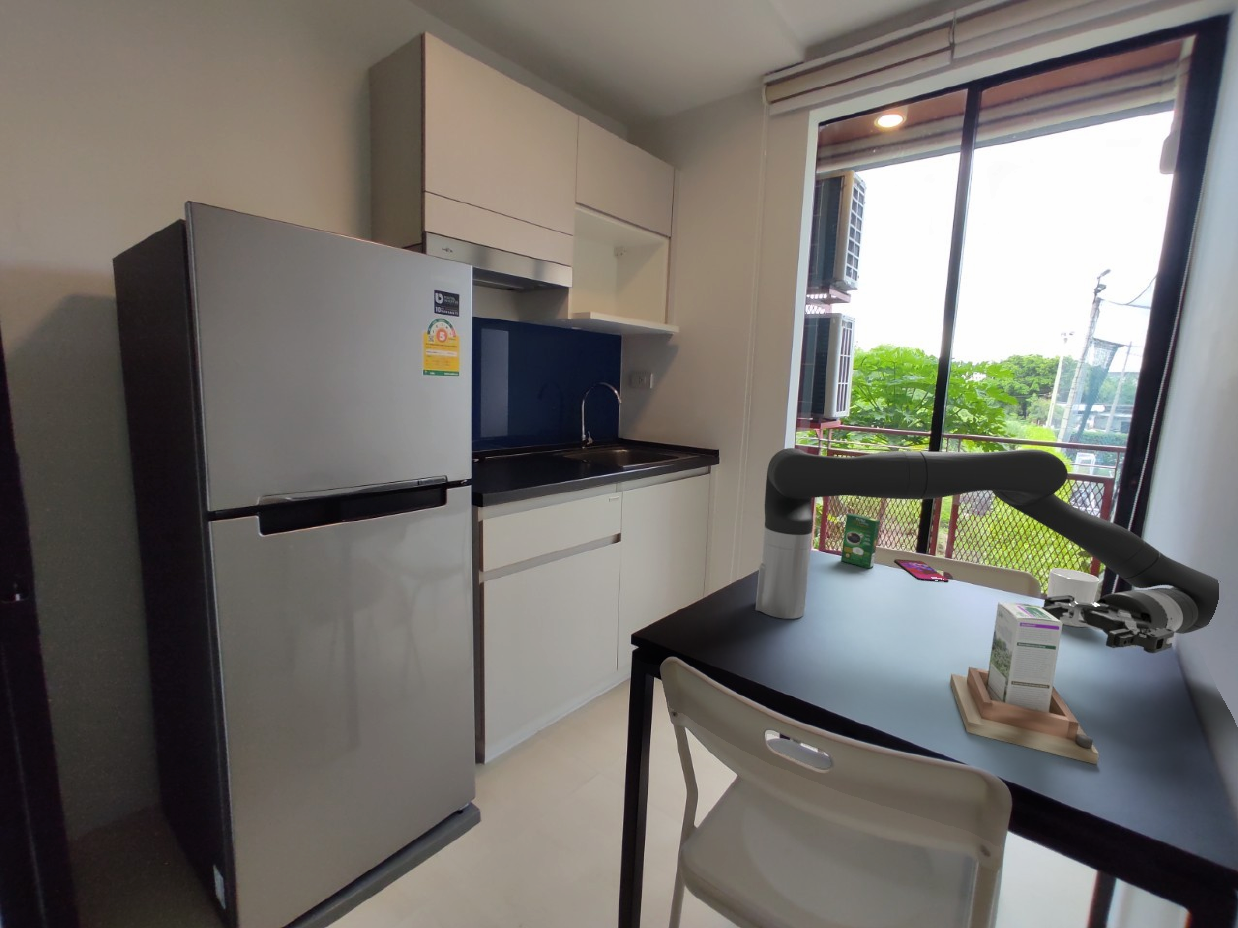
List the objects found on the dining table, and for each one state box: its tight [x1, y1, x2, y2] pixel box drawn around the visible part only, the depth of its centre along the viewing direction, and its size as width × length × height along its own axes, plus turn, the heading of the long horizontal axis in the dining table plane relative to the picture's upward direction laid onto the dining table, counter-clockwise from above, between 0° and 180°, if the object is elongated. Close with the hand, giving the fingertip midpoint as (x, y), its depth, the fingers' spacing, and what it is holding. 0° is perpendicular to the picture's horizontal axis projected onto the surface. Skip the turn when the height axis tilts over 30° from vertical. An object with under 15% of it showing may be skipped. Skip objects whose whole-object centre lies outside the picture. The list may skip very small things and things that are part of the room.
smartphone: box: [893, 558, 949, 583], centre depth 141 cm, size 8×1×15 cm
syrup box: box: [986, 602, 1064, 713], centre depth 76 cm, size 6×6×14 cm
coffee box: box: [840, 513, 881, 570], centre depth 143 cm, size 8×3×13 cm, turn 44°
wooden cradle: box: [949, 666, 1100, 765], centre depth 77 cm, size 14×14×4 cm
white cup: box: [1046, 567, 1100, 628], centre depth 113 cm, size 8×8×10 cm
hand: (1075, 626), depth 80 cm, fingers open, 8 cm apart
